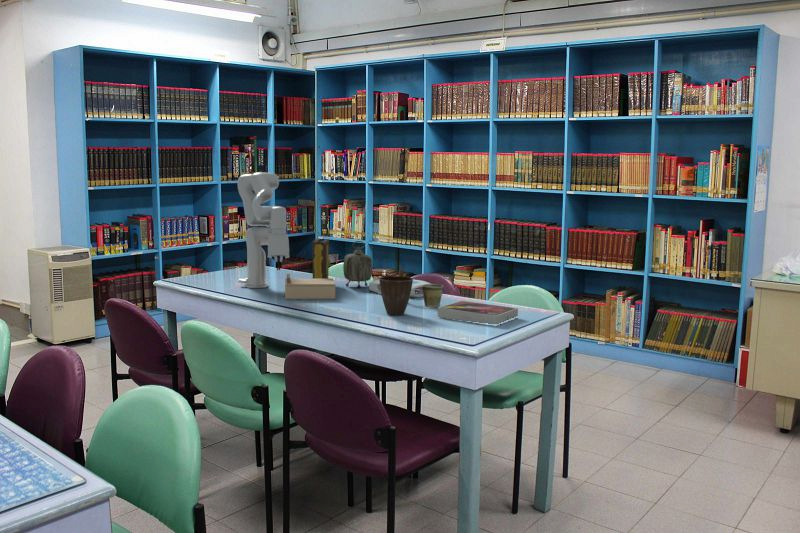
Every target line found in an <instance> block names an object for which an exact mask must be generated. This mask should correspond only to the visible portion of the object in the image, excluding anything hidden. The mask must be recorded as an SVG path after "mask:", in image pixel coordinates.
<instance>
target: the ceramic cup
mask: <svg viewBox="0 0 800 533" xmlns="http://www.w3.org/2000/svg"><path fill="white" fill-rule="evenodd" d="M422 289H423V295H424V296H423V303H424V307H426V308H428V307H429V309H435V307H441V301H442V296H443V291H444V285H442V284H438V283H437V284H435V283H430V284H424V285H422V287H421V290H422Z"/></svg>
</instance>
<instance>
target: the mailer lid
mask: <svg viewBox="0 0 800 533" xmlns="http://www.w3.org/2000/svg"><path fill="white" fill-rule="evenodd" d="M284 280H285V281H284V282H285V283H284V284H285V286H335V287H336V283H335V280H334V278H328V279H326V278H313V277H312V278H309V277H308V278H302V277H301V278H300V277H299V278H291V274H290V273H286V278H284Z"/></svg>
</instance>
